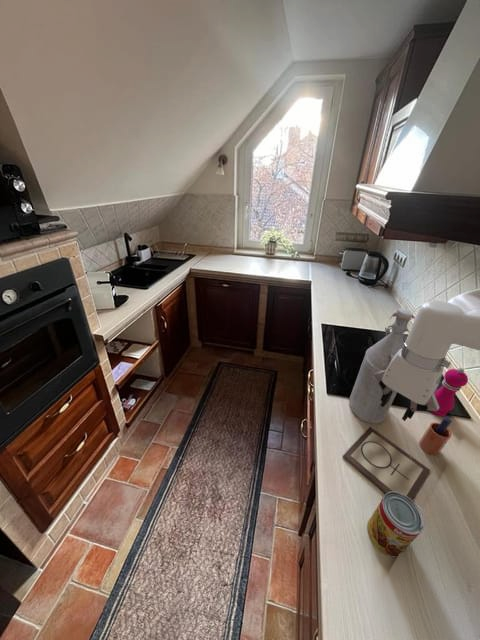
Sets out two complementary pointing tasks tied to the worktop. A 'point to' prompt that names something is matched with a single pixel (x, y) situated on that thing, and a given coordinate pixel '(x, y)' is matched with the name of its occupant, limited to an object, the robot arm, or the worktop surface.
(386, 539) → the canned food
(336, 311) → the worktop surface
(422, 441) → the pen cup
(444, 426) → the marker
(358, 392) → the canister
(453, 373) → the pepper mill
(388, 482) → the framed female symbol sign
